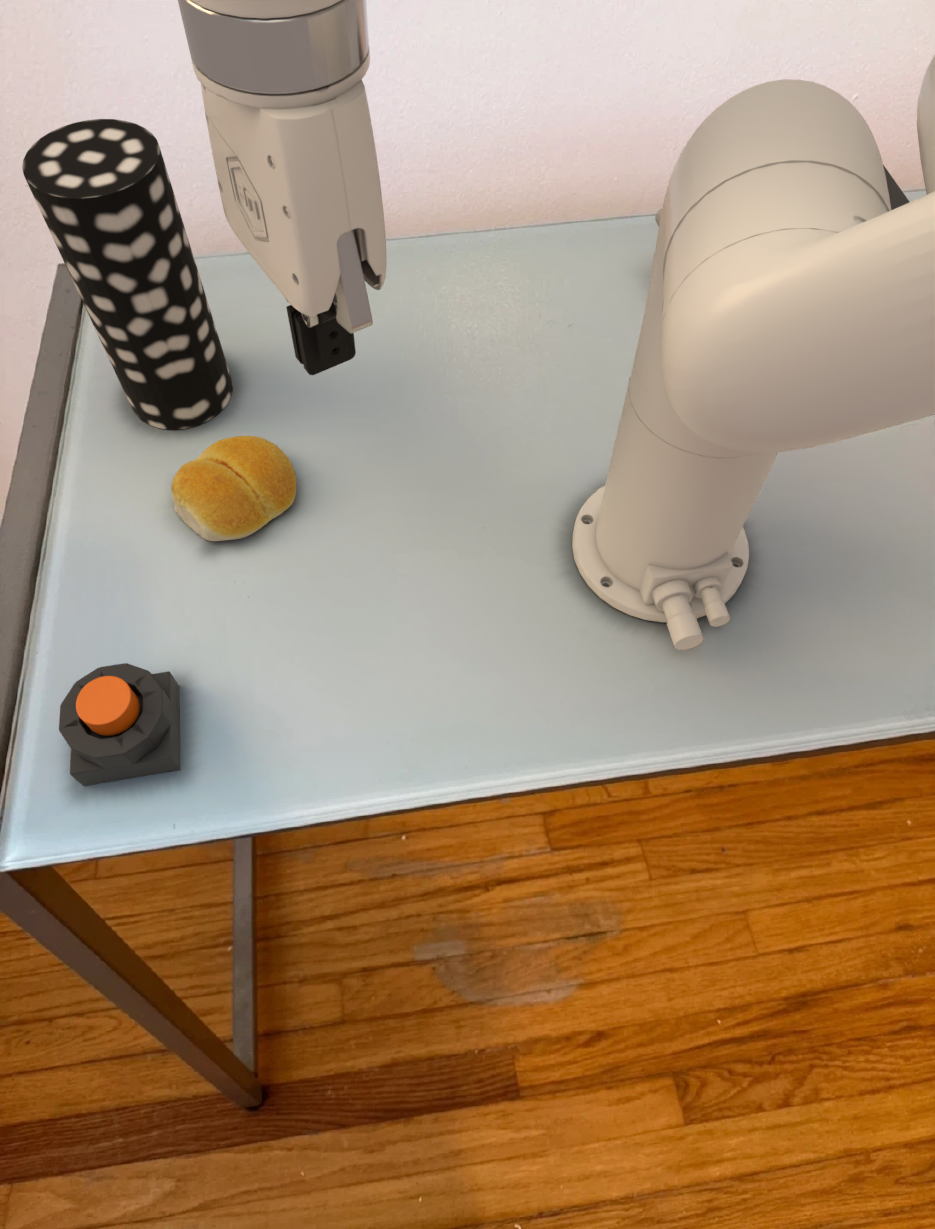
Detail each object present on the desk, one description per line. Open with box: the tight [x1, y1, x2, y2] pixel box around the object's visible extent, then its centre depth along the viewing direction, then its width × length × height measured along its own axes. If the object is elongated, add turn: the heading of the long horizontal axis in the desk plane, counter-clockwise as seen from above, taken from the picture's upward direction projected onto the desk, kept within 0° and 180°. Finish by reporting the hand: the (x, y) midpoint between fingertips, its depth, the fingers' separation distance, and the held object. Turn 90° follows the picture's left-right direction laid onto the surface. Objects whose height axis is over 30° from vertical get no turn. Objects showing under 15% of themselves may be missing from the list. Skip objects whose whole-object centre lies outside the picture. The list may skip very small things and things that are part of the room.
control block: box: [58, 662, 181, 787], centre depth 54 cm, size 6×6×4 cm
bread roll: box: [170, 435, 297, 542], centre depth 64 cm, size 8×9×4 cm
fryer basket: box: [654, 208, 662, 228], centre depth 75 cm, size 16×8×7 cm, turn 100°
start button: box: [76, 676, 140, 736], centre depth 52 cm, size 3×3×2 cm
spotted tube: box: [21, 118, 234, 431], centre depth 62 cm, size 8×8×20 cm
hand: (326, 358), depth 52 cm, fingers closed
